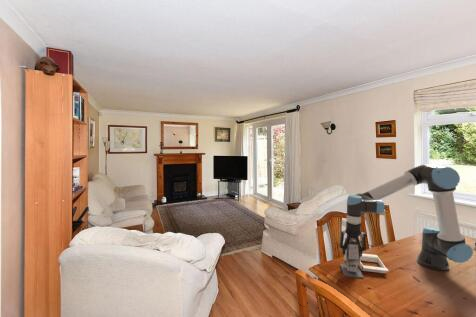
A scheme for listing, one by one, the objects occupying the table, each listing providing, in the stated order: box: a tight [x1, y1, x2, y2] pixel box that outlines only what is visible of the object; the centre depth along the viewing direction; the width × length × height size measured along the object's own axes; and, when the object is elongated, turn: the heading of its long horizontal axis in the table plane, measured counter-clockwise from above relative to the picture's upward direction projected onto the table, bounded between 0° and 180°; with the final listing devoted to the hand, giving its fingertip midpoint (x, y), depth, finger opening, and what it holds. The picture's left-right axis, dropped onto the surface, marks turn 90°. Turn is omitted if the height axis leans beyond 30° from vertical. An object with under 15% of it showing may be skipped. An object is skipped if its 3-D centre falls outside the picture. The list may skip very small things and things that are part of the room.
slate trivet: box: [339, 263, 365, 279], centre depth 137 cm, size 10×12×1 cm
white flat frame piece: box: [359, 253, 390, 274], centre depth 143 cm, size 13×19×3 cm
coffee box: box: [343, 237, 362, 272], centre depth 137 cm, size 9×6×16 cm
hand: (351, 260), depth 137 cm, fingers closed on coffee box, 6 cm apart
